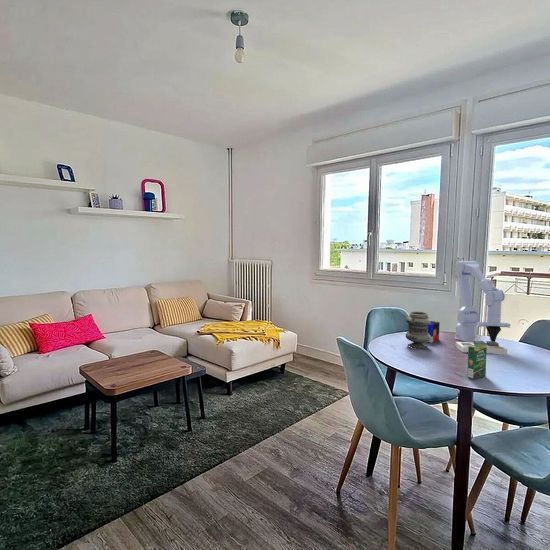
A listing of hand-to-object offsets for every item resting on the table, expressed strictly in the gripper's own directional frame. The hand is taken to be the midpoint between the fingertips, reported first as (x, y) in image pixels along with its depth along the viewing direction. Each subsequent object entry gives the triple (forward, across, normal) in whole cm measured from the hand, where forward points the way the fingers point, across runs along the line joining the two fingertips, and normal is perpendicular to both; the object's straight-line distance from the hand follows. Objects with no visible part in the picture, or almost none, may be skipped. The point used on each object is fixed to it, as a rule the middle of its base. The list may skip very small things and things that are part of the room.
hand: (492, 341), depth 177 cm
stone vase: (+5, -36, 0) cm, 36 cm away
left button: (+5, -12, 0) cm, 13 cm away
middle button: (+3, -6, 0) cm, 7 cm away
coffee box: (+5, -22, -41) cm, 47 cm away
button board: (+5, -6, -1) cm, 8 cm away
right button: (+3, 0, 0) cm, 3 cm away
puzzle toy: (+5, -28, +16) cm, 33 cm away
